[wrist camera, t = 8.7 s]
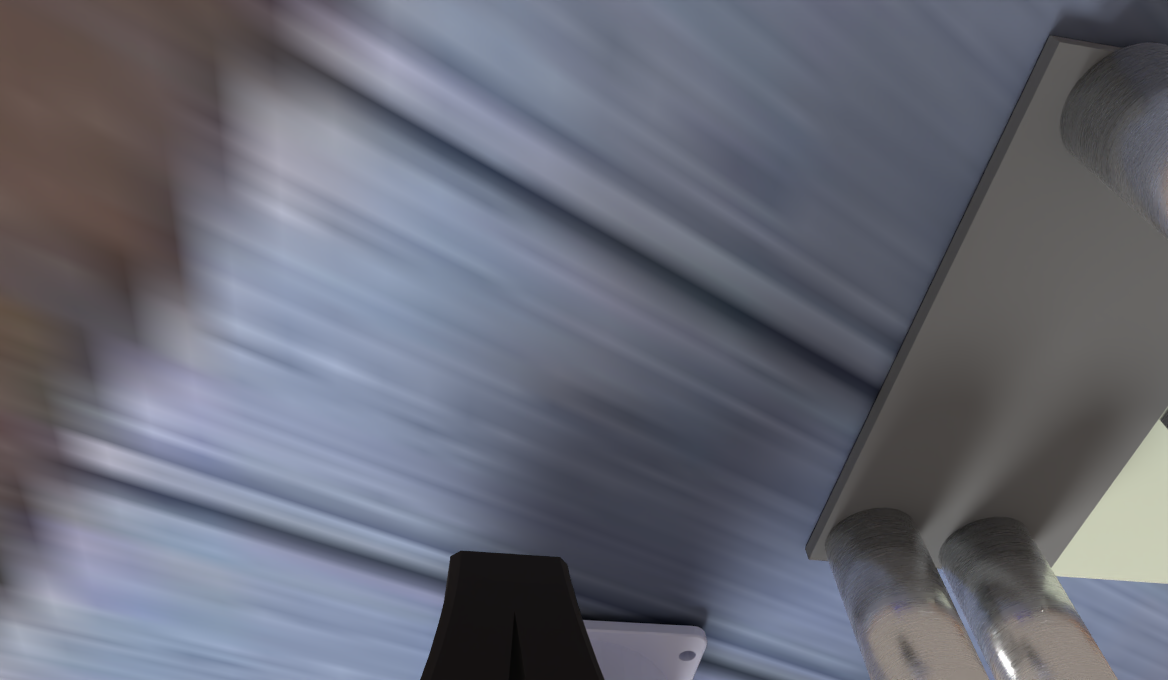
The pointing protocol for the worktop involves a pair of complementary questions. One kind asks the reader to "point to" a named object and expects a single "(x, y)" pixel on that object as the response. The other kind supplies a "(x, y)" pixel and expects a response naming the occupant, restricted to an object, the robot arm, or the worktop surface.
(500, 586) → the robot arm
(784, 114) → the worktop surface
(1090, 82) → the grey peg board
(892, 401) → the mat
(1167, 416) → the nut
